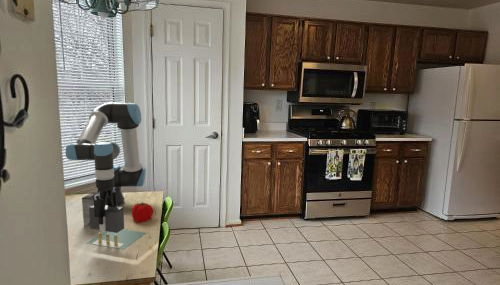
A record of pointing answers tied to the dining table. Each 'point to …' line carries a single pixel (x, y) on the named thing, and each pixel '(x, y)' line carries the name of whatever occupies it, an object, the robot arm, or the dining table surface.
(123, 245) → the board
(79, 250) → the dining table surface
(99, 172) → the robot arm
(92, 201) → the coffee box
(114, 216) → the housing
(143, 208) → the tomato
